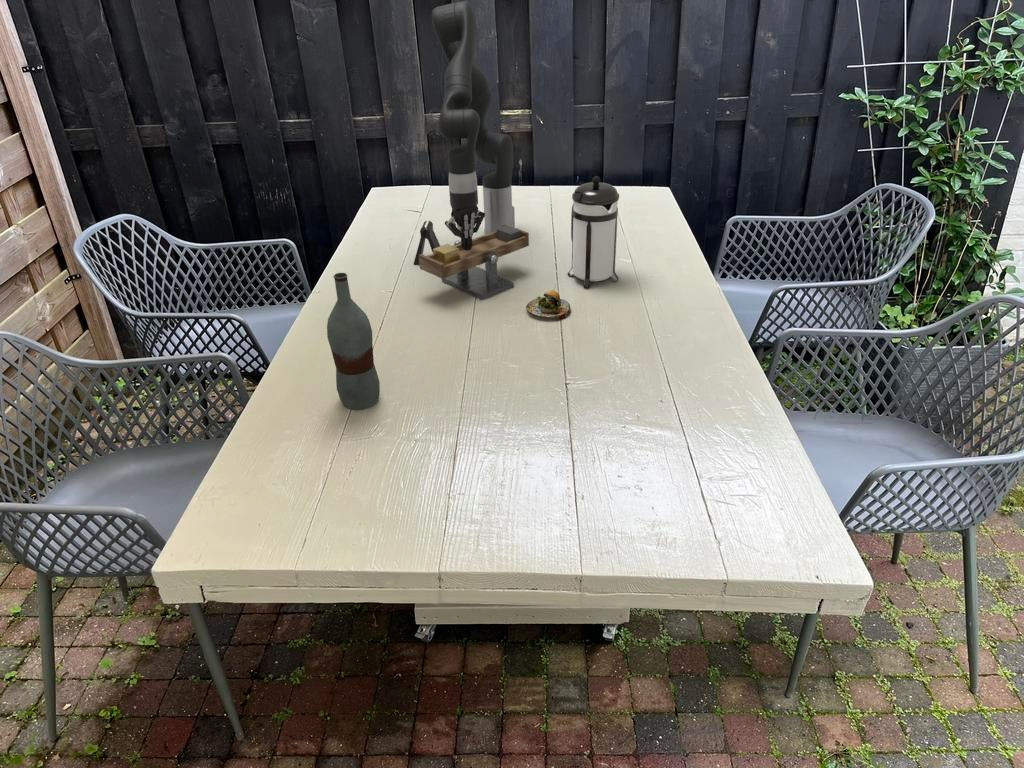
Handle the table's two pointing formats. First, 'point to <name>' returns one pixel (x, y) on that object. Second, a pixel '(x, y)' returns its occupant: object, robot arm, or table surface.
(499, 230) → the block
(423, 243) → the phone stand
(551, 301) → the burger
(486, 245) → the beam
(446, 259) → the brass block
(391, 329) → the table surface
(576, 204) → the coffee press
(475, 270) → the pivot stand
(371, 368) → the bottle
